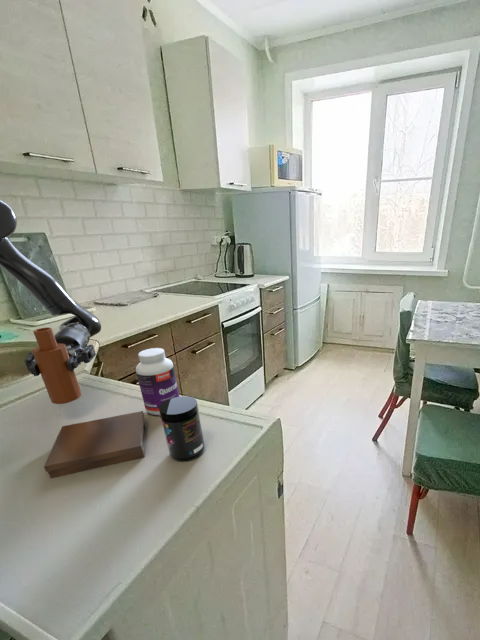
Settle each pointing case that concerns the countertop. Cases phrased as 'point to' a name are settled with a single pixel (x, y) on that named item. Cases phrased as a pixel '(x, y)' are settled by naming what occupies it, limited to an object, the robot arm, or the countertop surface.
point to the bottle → (55, 367)
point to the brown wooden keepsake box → (97, 444)
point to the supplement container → (182, 427)
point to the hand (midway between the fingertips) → (52, 369)
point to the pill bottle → (156, 379)
